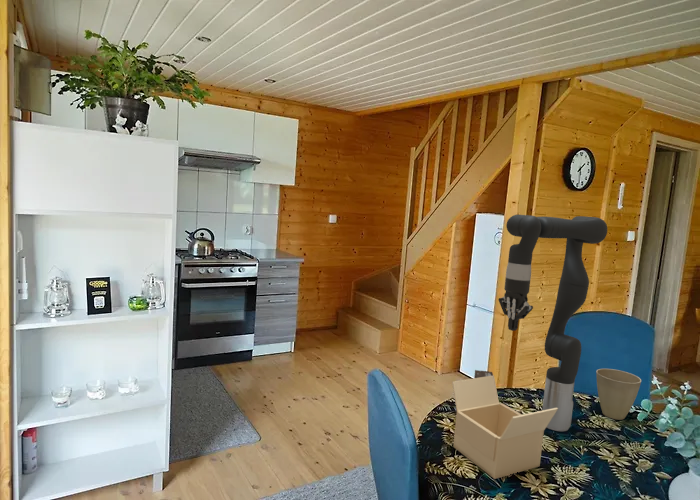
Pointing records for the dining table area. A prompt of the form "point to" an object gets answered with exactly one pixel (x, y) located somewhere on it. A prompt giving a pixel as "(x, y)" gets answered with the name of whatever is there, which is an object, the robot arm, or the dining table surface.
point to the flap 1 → (475, 392)
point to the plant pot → (616, 392)
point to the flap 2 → (528, 423)
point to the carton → (495, 441)
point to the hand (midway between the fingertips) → (512, 329)
